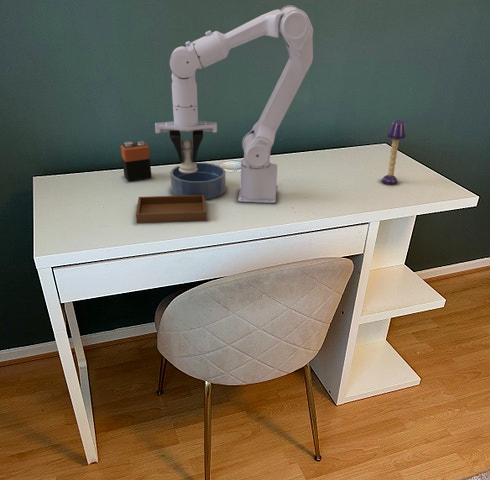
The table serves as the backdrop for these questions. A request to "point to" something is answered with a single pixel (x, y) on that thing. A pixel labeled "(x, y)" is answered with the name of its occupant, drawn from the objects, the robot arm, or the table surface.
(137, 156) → the battery
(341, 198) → the table surface
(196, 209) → the tray
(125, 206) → the table surface
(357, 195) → the table surface
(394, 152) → the toy lamp
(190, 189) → the bowl
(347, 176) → the table surface
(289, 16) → the robot arm
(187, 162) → the chess piece
